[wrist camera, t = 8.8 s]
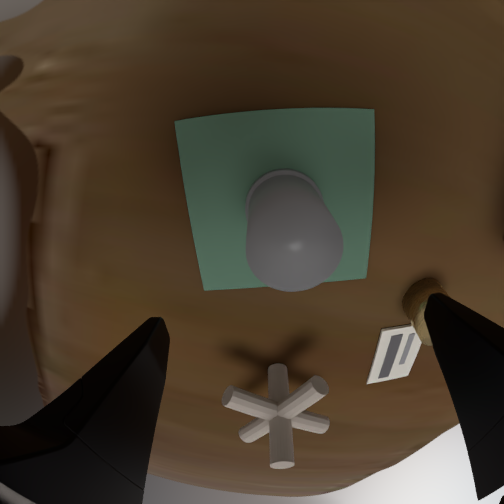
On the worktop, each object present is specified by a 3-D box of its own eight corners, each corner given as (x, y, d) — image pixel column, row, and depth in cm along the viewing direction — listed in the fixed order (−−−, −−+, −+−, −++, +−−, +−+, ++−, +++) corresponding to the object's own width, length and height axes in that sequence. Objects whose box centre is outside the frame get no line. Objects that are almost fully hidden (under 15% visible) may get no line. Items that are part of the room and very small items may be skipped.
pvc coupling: (322, 167, 17) (351, 197, 12) (320, 238, 19) (342, 291, 14) (242, 170, 17) (236, 201, 12) (248, 241, 20) (244, 297, 14)
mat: (371, 109, 15) (374, 109, 15) (364, 275, 21) (366, 278, 21) (176, 120, 16) (174, 121, 16) (205, 287, 22) (204, 290, 21)
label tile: (427, 321, 24) (429, 323, 23) (407, 373, 27) (408, 376, 27) (381, 329, 24) (382, 331, 23) (366, 381, 28) (367, 384, 27)
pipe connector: (205, 376, 27) (192, 467, 18) (264, 314, 23) (266, 427, 14) (286, 406, 29) (291, 486, 21) (351, 356, 25) (375, 448, 17)
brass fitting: (444, 275, 21) (467, 303, 18) (434, 311, 23) (452, 340, 20) (407, 280, 21) (427, 311, 18) (397, 317, 23) (414, 349, 20)
